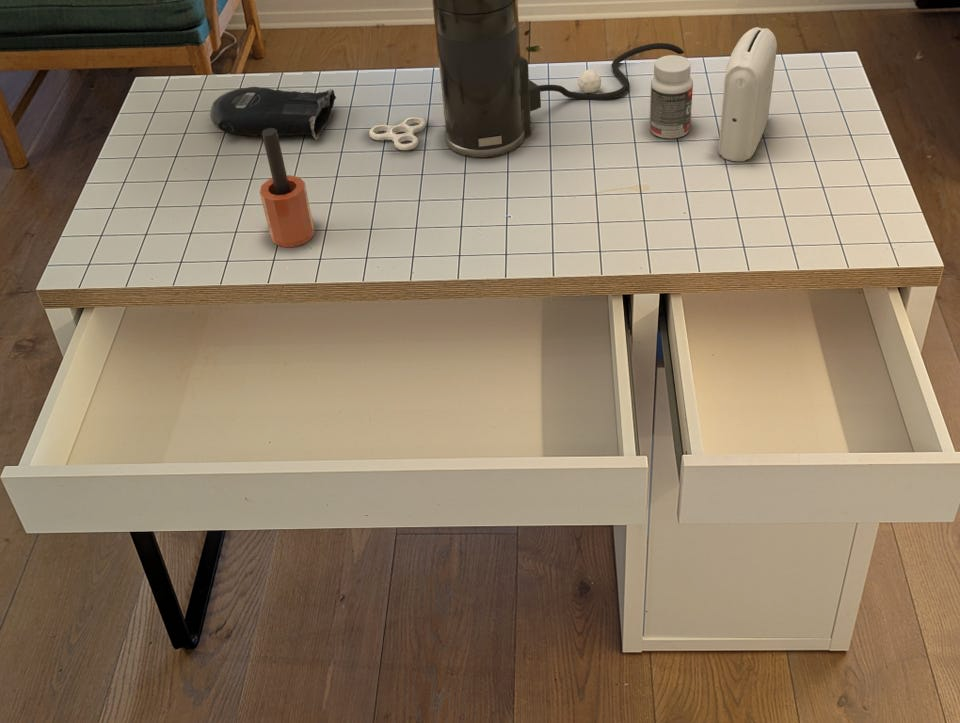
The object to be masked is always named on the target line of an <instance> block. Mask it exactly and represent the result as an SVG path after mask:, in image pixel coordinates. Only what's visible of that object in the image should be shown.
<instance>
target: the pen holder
mask: <svg viewBox="0 0 960 723" xmlns="http://www.w3.org/2000/svg"><path fill="white" fill-rule="evenodd" d="M287 179H288V183H289V188H290V193H288V194H285V195H276V192H275V188H274V184H273V179H272V178H269V179H267V180H266V181H265V182H264V183H263V184H262V185H261V186H260V190H259V196H260V200H261V203H262V208H263V212H264V216H265V220H266V224H267V228H268V232H269V235H270V238H271V241H272V242H273V243H274V244H275V245H277V246H278V247H283V248H294V247H298V246H302V245H304V244H306V243H308V242H309V241H311V240H312V238H313V237H314V235H315V228H314V226H315V225H314V221H313V220H314V219H313V216H312V210H311V207H310V201H309V196H308V191H307V186H306V183H305V181H304V180H303V179H302V178H301V177H299V176H296V175H290V174H287Z"/></svg>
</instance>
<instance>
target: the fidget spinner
mask: <svg viewBox="0 0 960 723" xmlns="http://www.w3.org/2000/svg"><path fill="white" fill-rule="evenodd" d="M410 124H416V125H410ZM426 125H427V123H426V120H425V119H424V118H423V117H420V116H411V117H408V118H406V119H404V120H403V121H402V122H401V123H399V124H396V125H389V124H377V125H375V126H372V127H371V128H370V129H369V131H368V135H369V137H370V138H371V139H372V140H375V141H384V140H387V141H388V140H389V141H391V142H393V145H394V147H395V148H396V149H397V150H400V151H411V150H414V149H415V148H416V147H417V146H418V145H419V138H418V137H417V136H416V135H415V134H416V133H418V132H421V131H422V130H424V129H425V128H426ZM378 132H384V133H378ZM406 141H409V143H403V142H406Z"/></svg>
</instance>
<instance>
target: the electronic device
mask: <svg viewBox="0 0 960 723" xmlns="http://www.w3.org/2000/svg"><path fill="white" fill-rule="evenodd" d="M335 94H336V93H335V90H334V89H333V88H329V89H328V90H326V91H319V92H311V91H303V92H302V91H297V90H295V91H294V90H293V91H289V90H288V91H287V90H281V89H273V88H268V87H261V86H260V87H259V86H248V87H240V88H237V89H234V90H231V91H227V92H226V93H224V94H222V95H220V96H219V97H218V98H216V99H215V100H214V101H213V102H212V104H211V108H210V111H209V117H210V121H211V122H212V124H213V125H214V127H216V128H217V129H218V130H220V131H221V132H225V133H228V134H233V135H242V136H262V131H263V130H265V129H268V128H274V129H276V130H277V134H278V137H279V136H288V137H289V136H303V135H310V136H312V138H314V140H315V141H318V140H319V138H320V136H321V134H322V132H323V130H324V129H325V127H326V126H327V124H328V123H329V121H330V120H331V118H332V111H333V107H334V103H335V100H336V99H337V96H336V95H335Z"/></svg>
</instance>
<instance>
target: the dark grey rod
mask: <svg viewBox="0 0 960 723" xmlns="http://www.w3.org/2000/svg"><path fill="white" fill-rule="evenodd" d="M261 137H262V140H263V144H264V145H263V146H264V149H265V153H266V157H267V162H268V167H269V170H270V174H271V179H273V184H274V188H275V192H276V195H285V194H288V193H290V188H289V183H288V179H287V175H288V174H287V171H286V166H285V161H284V157H283V153H282V147H281V144H280V139H279V136H278V134H277V130H276V129H274V128H268V129H265V130H263V131H262V135H261Z"/></svg>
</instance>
